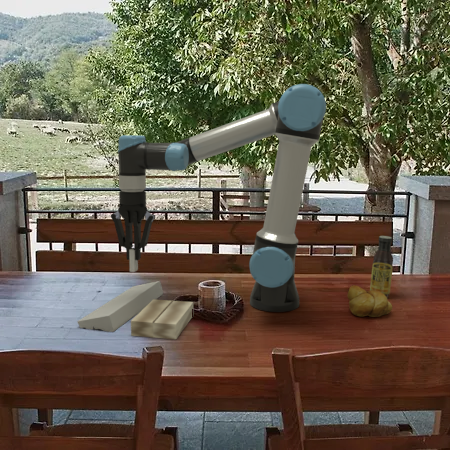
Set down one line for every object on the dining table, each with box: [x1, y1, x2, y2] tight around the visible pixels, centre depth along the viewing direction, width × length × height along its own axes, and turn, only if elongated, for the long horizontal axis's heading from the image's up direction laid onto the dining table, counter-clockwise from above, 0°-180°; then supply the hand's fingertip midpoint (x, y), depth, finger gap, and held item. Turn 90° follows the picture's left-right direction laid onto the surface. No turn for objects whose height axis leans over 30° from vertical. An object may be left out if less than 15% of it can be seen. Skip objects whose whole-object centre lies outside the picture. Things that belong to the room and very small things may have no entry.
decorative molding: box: [76, 280, 164, 333], centre depth 151 cm, size 34×5×10 cm
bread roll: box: [347, 284, 393, 318], centre depth 149 cm, size 13×10×8 cm
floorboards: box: [130, 299, 194, 340], centre depth 139 cm, size 12×18×4 cm, turn 169°
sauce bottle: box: [369, 235, 394, 299], centre depth 164 cm, size 7×6×20 cm
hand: (133, 270), depth 149 cm, fingers closed
